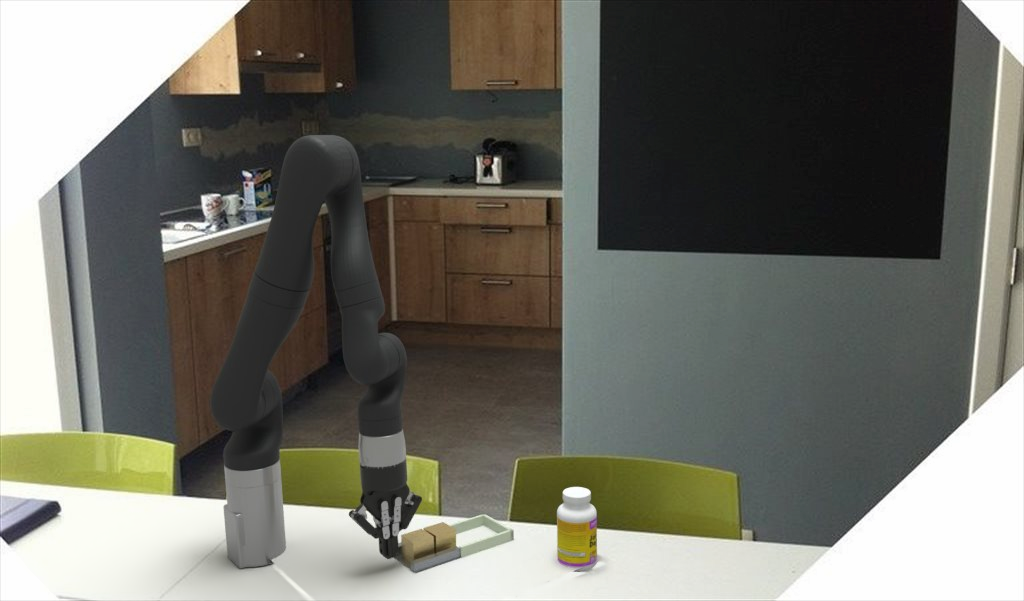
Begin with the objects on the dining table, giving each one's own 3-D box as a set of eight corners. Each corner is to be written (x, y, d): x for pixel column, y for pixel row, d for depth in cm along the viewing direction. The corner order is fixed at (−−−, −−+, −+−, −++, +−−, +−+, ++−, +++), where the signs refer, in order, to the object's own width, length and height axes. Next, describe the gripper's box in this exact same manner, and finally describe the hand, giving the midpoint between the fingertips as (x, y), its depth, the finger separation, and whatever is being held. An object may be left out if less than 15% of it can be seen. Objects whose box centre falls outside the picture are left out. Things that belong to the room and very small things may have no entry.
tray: (461, 562, 161) (461, 547, 160) (433, 544, 168) (433, 529, 167) (513, 544, 167) (513, 530, 166) (484, 528, 174) (484, 513, 174)
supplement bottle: (594, 574, 156) (594, 501, 153) (554, 571, 157) (553, 498, 154) (599, 556, 162) (598, 485, 160) (560, 553, 163) (559, 483, 161)
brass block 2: (436, 557, 160) (435, 535, 160) (424, 549, 164) (423, 528, 163) (456, 551, 163) (455, 529, 162) (443, 543, 166) (443, 521, 165)
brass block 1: (414, 565, 158) (413, 543, 157) (402, 557, 161) (401, 535, 160) (434, 558, 160) (433, 536, 159) (422, 550, 163) (421, 528, 163)
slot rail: (415, 578, 155) (415, 564, 155) (388, 559, 163) (388, 545, 162) (461, 562, 161) (461, 549, 160) (433, 544, 168) (433, 531, 167)
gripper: (406, 442, 160) (412, 537, 164) (335, 460, 153) (342, 560, 156) (429, 453, 154) (435, 552, 158) (357, 473, 147) (364, 577, 150)
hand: (389, 556), depth 157 cm, fingers closed
